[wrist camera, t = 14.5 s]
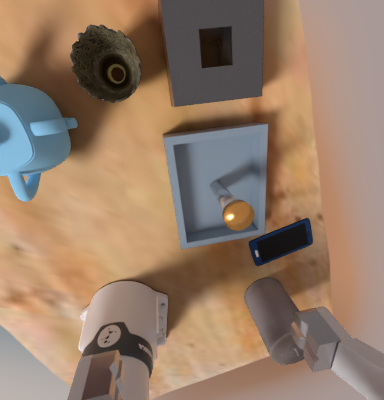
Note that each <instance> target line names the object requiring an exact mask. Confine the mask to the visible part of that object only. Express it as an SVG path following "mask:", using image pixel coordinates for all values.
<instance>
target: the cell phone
mask: <svg viewBox="0 0 384 400" xmlns="http://www.w3.org/2000/svg"><path fill="white" fill-rule="evenodd" d="M312 242H313V239H312V232H311V225H310V221H309V219H307V218H306V219H303V220H300V221H298V222H296V223H293V224H291V225H288V226H286V227H283V228H281V229H278V230H276V231H273V232H271V233H268V234H266V235H263V236H261V237H258V238H256V239H254V240H251V241H250V242H249V246H250V249H251V252H252V256H253V259H254V262H255V264H256V265H257V266H260V265H263V264H265V263H268V262H270V261H272V260H275V259H277V258H280V257H282V256H285V255H287V254H290V253H292V252H295V251H297V250H300V249H302V248H305V247H307V246H309V245H311V244H312Z"/></svg>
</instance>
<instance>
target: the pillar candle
mask: <svg viewBox="0 0 384 400" xmlns="http://www.w3.org/2000/svg"><path fill="white" fill-rule="evenodd" d="M244 298H245V302H246V305H247V307H248V309H249V311H250V313H251V315H252V318H253V320H254V322H255V324H256V326H257V328H258V330H259V333H260V335H261V337H262V339H263V341H264V344H265V345H266V348H267V350H268V352H269V354H270V357H271V358H272V360H273V361H274V362H276V363H278V364H281V365H287V364H293V363H296V362H299V361H301V360H303V359H305V358H304V357H303V353H304V351H303V350H302V349H301V348H299V347H298V346H297V345H296V343H295V341H294V339H293V337H292V334H291V324H292V323H293V322H294V320H293V319H292V314H293V313H294V312H299V310H298V308H297V307H296V305H295V304H294V303H293V301H292V300H291V298H290V297H289V295H288V294H287V293H286V291H285V290H284V288H283V287H282V285H281V284H280V283H279V282H278V281H277V280H275V279H273V278H263V279H259V280H257V281H255V282H254V283H252V284H251V286H250V287H249V288H248V289H247V291H246V292H245V296H244Z"/></svg>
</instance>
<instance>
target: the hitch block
mask: <svg viewBox="0 0 384 400" xmlns="http://www.w3.org/2000/svg"><path fill="white" fill-rule="evenodd" d="M158 11H159V18H160V25H161V33H162V40H163V47H164V55H165V62H166V70H167V77H168V84H169V92H170V99H171V106H172V107H177V106H185V105H194V104H202V103H210V102H218V101H226V100H235V99H243V98H251V97H259V96H262V76H263V29H264V0H159V1H158ZM208 40H219V60H220V66H219V67H210V68H202V65H201V52H200V41H208Z"/></svg>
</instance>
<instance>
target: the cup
mask: <svg viewBox="0 0 384 400" xmlns="http://www.w3.org/2000/svg"><path fill="white" fill-rule="evenodd" d="M78 39H79V41H76V43H74V44H73V45H72V49H73V50H72V51H73V52H71V54H70V57H71V60H72V62H73V63H74V66H73V67H72V71H73V72H74V73H75V74H76V75H77V81H78V84H79V85H80V86H81V87H82V88H83V89H84V90H85V91H87V92H88V94H89V95H90V96H91V97H93V98H99V99H101V100H103V101H107V102H108V103H114V102H121V101H124V100H125V99H127V98H128V97H129V96H131V95H132V94H133V93H134V92H135V91H136V88H137V86H138V85H139V82H140V79H141V66H140V63H141V62H140V58H139V56H138V54H137V51H136V48H135V46H134V44H133V43H132V42H131V40H130V39H128V38H127V37H126V36H125V35H124V33H123V32H121V31H120V30H118V32H116V31H114V30H113V29H108V28H107V27H105V26H104V25H99V27H98V26H95V25H89V26H88V27H87V29H86V31H85V33H78ZM114 68H120V69H121V70H122V71H123V74H124V76H123V79H122V80H120V81H116V80H115V79H114V78H113V77H112V70H113V69H114Z"/></svg>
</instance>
